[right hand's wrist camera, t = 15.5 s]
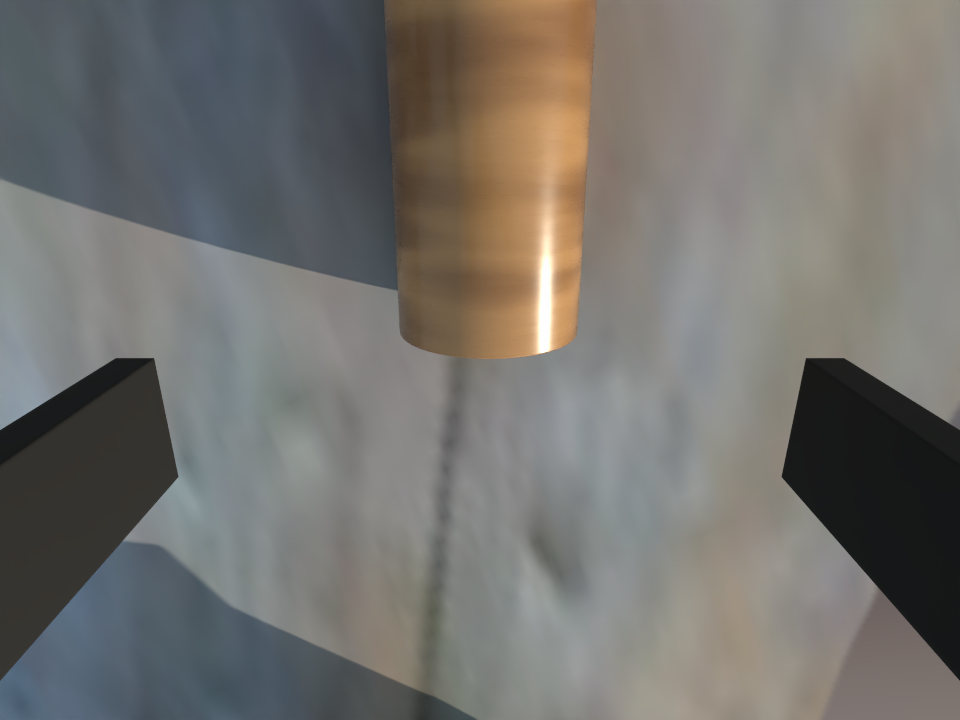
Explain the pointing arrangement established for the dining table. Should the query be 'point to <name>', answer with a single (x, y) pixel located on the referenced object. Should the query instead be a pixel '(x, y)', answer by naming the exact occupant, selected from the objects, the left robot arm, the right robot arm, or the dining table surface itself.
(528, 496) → the dining table surface
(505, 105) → the rod
